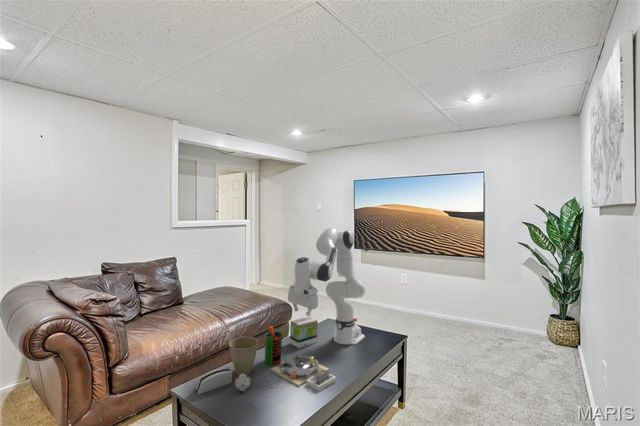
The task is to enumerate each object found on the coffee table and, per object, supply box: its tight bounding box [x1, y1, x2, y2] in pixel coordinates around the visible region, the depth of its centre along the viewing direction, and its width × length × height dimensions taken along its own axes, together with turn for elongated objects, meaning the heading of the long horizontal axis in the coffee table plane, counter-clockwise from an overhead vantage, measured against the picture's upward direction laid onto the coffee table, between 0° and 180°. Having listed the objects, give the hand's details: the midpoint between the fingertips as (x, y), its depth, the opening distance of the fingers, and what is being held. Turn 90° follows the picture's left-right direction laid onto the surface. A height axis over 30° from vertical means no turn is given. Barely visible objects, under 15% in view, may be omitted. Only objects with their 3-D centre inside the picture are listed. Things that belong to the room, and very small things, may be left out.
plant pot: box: [228, 336, 259, 376], centre depth 174 cm, size 15×15×16 cm
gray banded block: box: [314, 369, 330, 385], centre depth 164 cm, size 4×7×4 cm, turn 137°
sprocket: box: [280, 355, 319, 378], centre depth 176 cm, size 21×21×7 cm
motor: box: [264, 325, 283, 367], centre depth 186 cm, size 10×9×20 cm
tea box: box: [289, 316, 318, 349], centre depth 212 cm, size 15×10×15 cm, turn 131°
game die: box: [233, 371, 252, 394], centre depth 157 cm, size 9×8×10 cm
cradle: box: [305, 373, 337, 392], centre depth 164 cm, size 12×8×2 cm
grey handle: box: [195, 367, 233, 395], centre depth 159 cm, size 17×5×10 cm, turn 130°
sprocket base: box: [270, 355, 330, 387], centre depth 176 cm, size 22×22×1 cm
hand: (302, 313), depth 179 cm, fingers open, 8 cm apart
